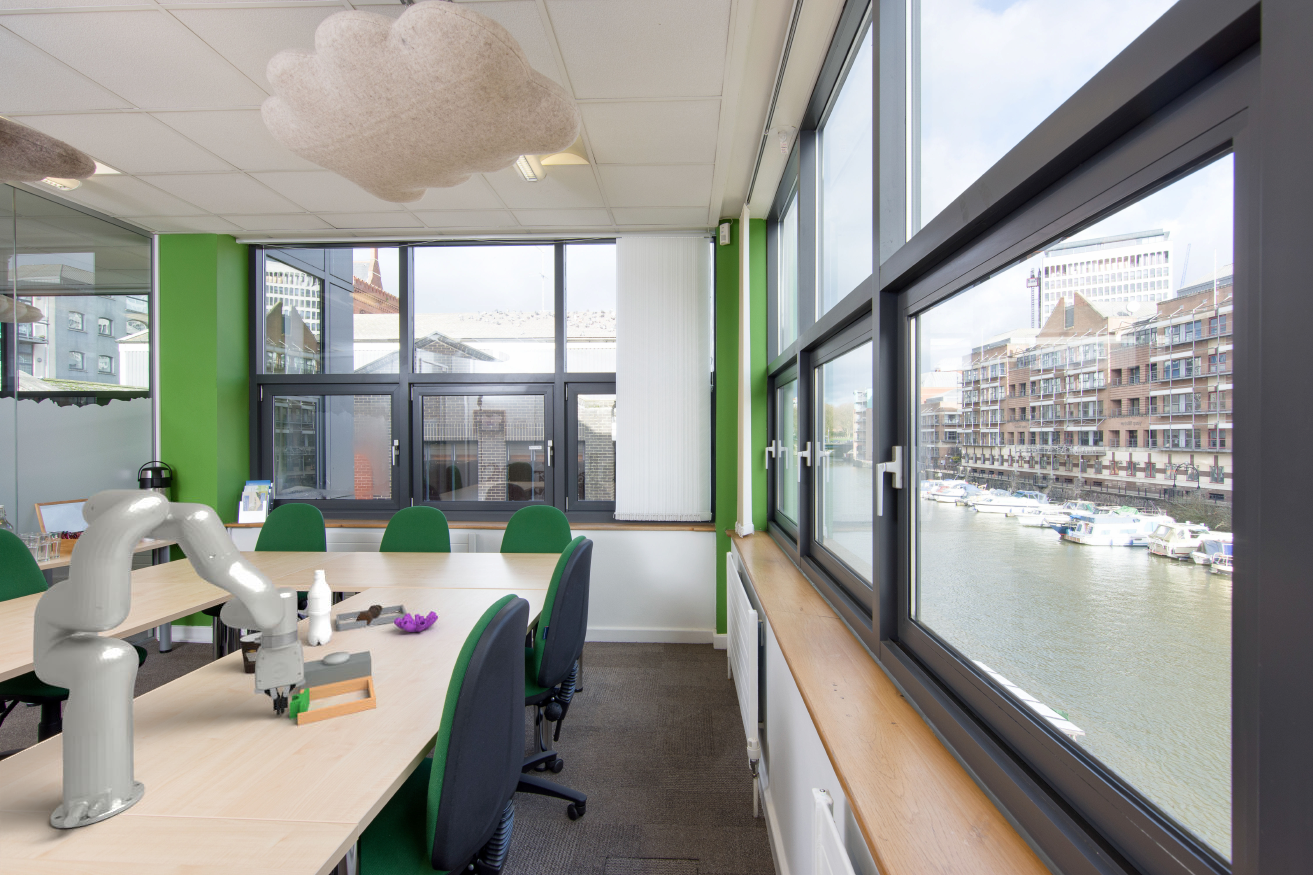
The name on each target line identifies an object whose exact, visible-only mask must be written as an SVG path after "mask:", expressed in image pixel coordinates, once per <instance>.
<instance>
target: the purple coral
mask: <svg viewBox="0 0 1313 875" xmlns="http://www.w3.org/2000/svg"><path fill="white" fill-rule="evenodd" d="M438 619H439V615H437V613H436V612H435V611H433V610H431V611H429V613H428V614H427V616H424V615H421V614H419V613H417V614H414V618H413V616H412V615H411V613H407V614H406V615H405V616H404V617H403V618H402V619H400V618H399V617H398V618H397V619H395V620H394V623H393V624H394V625H395V626H396V627H397V628H398V629H401V630H404V631H406V632H410V633H417V632H418V633H420V632H422V631H424V630H427V629H428V628H431V626H433V625H434V624H435V623H436V622H437V621H438Z"/></svg>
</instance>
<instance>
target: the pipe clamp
mask: <svg viewBox="0 0 1313 875" xmlns="http://www.w3.org/2000/svg"><path fill="white" fill-rule="evenodd" d="M310 703H311V702H310V693H309V688H307V689H305V690H304V693H301V694H300V693H296V694H292V696H291V701H289V720H292V719H298V713H302V712H307V711H309V708H310Z"/></svg>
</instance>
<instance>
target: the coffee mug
mask: <svg viewBox="0 0 1313 875" xmlns="http://www.w3.org/2000/svg"><path fill="white" fill-rule="evenodd" d="M260 635H262V631H259V632H255V633H250V634H247V635H245V636H242V637H241V638H239V640H240V649H241V653H242V654H241V655H242V661H243V662H242V663H243V668H244V672H245V674H248V675H249V674H250V675H251V674H252V675H253V674H254V675H255V666H256V656H257V651H258V648H259V647H260V646H261V644H260V643H259V644H258V643H255V642H254V640H255V638H258V637H260Z"/></svg>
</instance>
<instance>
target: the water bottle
mask: <svg viewBox="0 0 1313 875" xmlns="http://www.w3.org/2000/svg"><path fill="white" fill-rule="evenodd" d="M313 573H314V575H313V578H312V579H313V582H312V585H311V587H310V588H309V590H308V592H307V614H308V622H309V623H308V626H309V627H308V633H307V640H308V642H309V644H310V645H311V646H312V647H315V646H317V645H318V644H320V645H321V646H324V645H327V643H329V642H331V639H332V636H333V630H332V626H331V612H332V594H333V593H332V590H331V588H330V586H329V584H328V583H327V582H326V579H325V578H326V574H325V569H316V570H314V572H313Z"/></svg>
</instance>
